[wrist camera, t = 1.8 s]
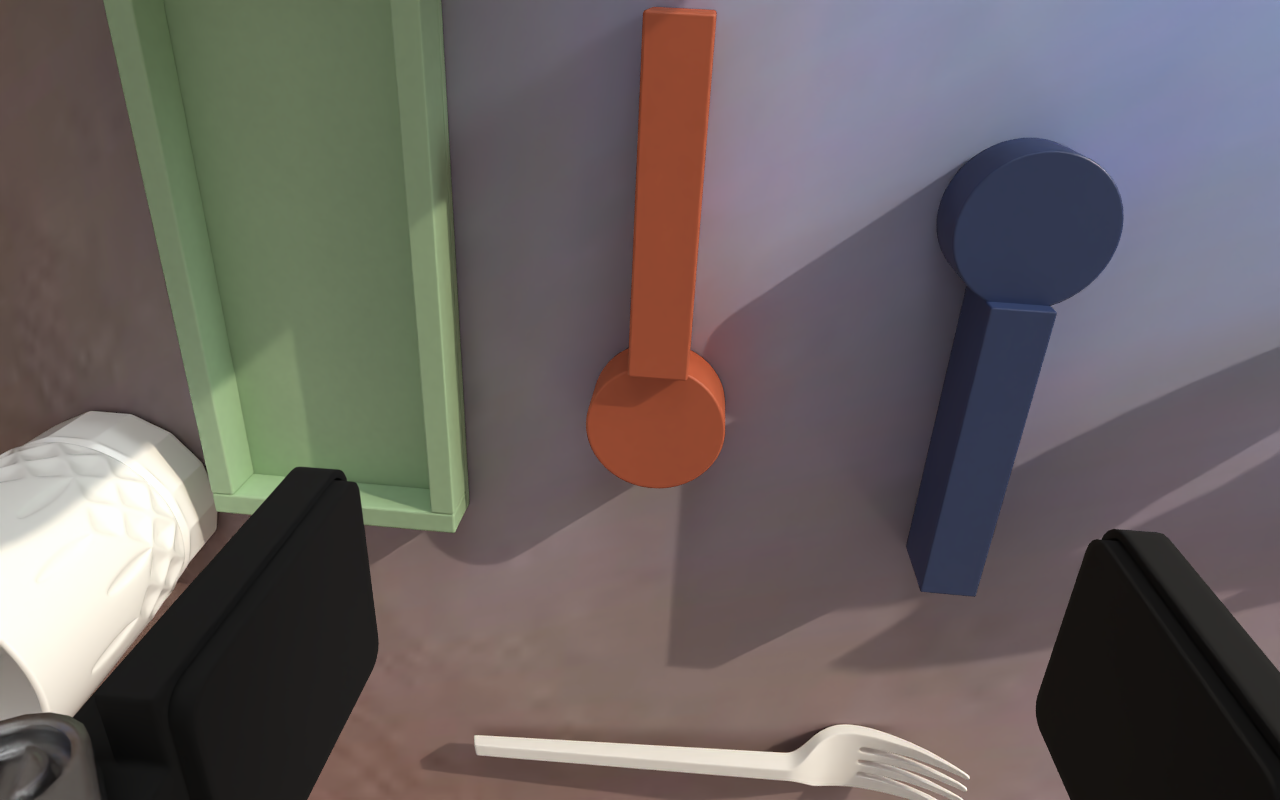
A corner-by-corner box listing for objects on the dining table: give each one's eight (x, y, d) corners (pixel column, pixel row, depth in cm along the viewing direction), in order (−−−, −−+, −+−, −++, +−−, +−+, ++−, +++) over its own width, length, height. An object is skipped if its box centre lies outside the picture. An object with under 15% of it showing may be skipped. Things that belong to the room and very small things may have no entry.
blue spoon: (994, 554, 30) (1016, 601, 28) (868, 543, 30) (880, 588, 28) (1114, 142, 23) (1156, 159, 21) (953, 132, 24) (977, 148, 21)
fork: (472, 706, 36) (459, 741, 34) (959, 729, 34) (972, 769, 32) (480, 759, 37) (469, 797, 35) (948, 785, 35) (960, 826, 33)
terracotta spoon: (602, 3, 23) (590, 7, 21) (764, 12, 23) (769, 16, 20) (593, 452, 29) (582, 491, 27) (719, 463, 29) (718, 503, 27)
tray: (100, -230, 22) (46, -248, 20) (429, -218, 21) (404, -234, 19) (242, 483, 31) (215, 512, 30) (469, 503, 31) (455, 534, 29)
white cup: (215, 403, 30) (0, 585, 21) (252, 579, 33) (81, 798, 24) (4, 386, 30) (-295, 556, 21) (62, 561, 34) (-173, 770, 25)
